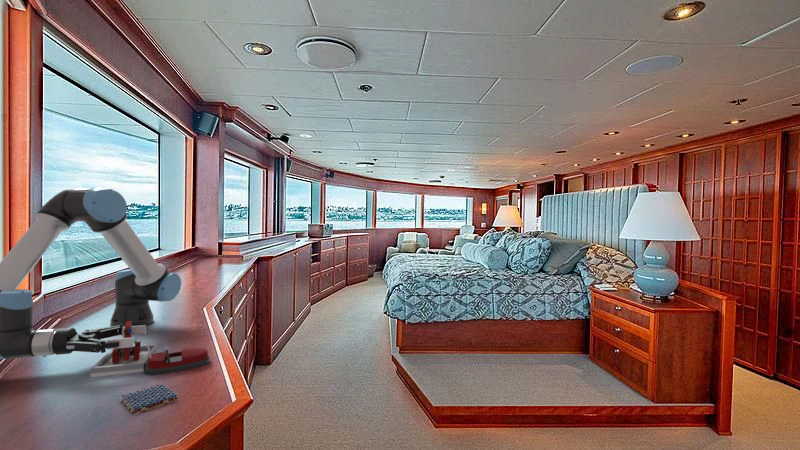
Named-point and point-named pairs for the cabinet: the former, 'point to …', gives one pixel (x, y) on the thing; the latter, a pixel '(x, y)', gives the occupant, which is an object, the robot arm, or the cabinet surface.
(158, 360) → the bumper car
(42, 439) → the cabinet surface
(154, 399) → the woven mat
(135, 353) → the toy fire truck
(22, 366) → the cabinet surface
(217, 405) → the cabinet surface
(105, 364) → the tray
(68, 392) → the cabinet surface
